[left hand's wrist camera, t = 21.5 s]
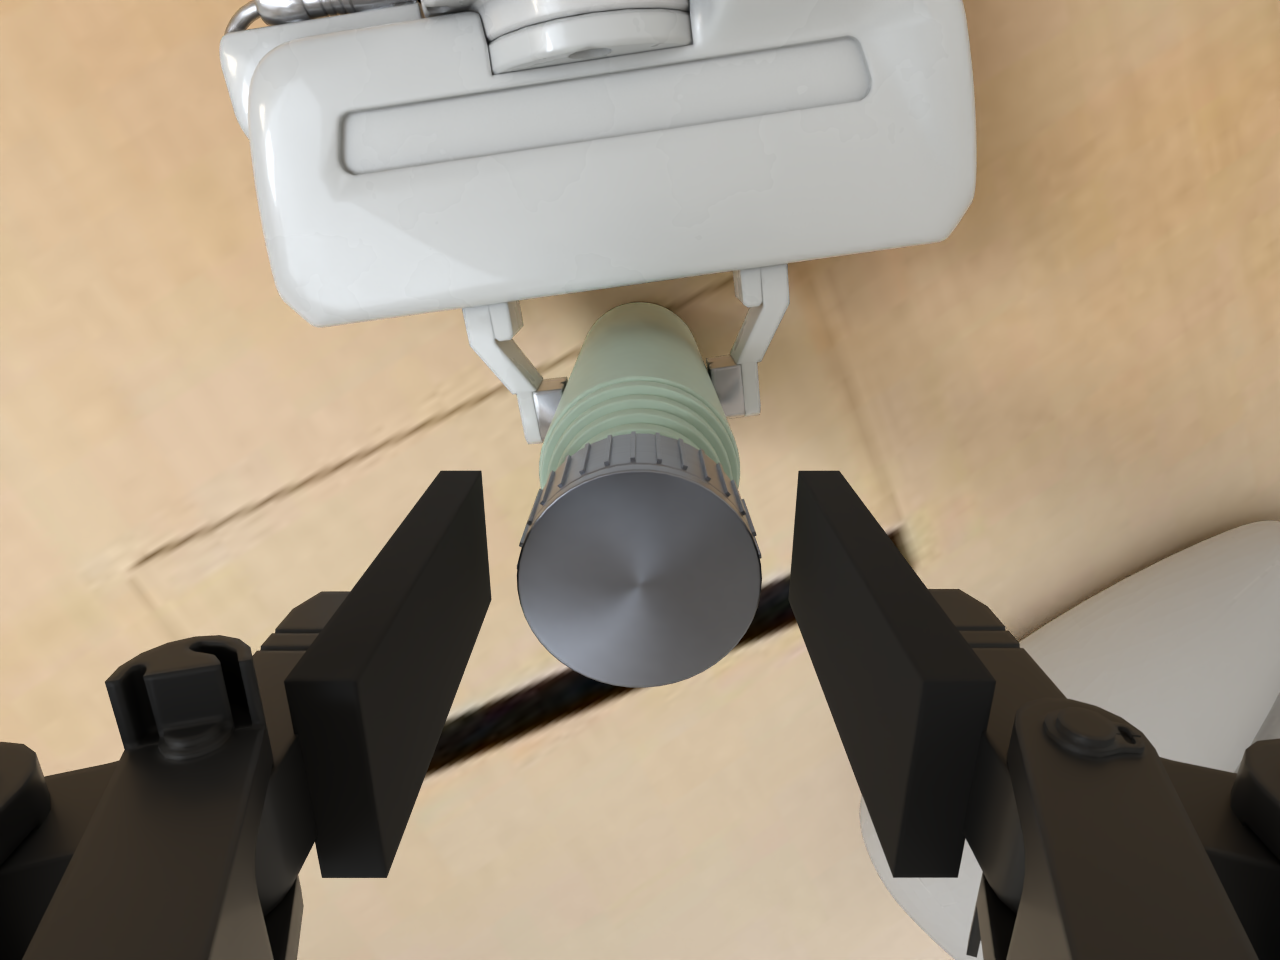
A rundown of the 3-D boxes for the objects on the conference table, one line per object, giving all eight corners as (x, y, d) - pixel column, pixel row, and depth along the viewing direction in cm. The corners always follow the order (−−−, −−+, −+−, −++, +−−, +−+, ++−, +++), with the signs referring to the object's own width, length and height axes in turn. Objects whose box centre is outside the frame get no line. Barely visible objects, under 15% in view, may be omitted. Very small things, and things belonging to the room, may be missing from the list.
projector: (1277, 880, 40) (1615, 1239, 26) (844, 918, 41) (948, 1284, 27) (1367, 494, 32) (1913, 713, 18) (831, 552, 33) (967, 801, 19)
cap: (788, 563, 15) (811, 618, 13) (608, 662, 15) (604, 728, 14) (674, 385, 13) (680, 416, 11) (485, 504, 14) (461, 551, 12)
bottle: (579, 301, 29) (495, 438, 12) (700, 302, 29) (784, 439, 12) (582, 418, 31) (511, 681, 14) (696, 418, 31) (766, 682, 14)
